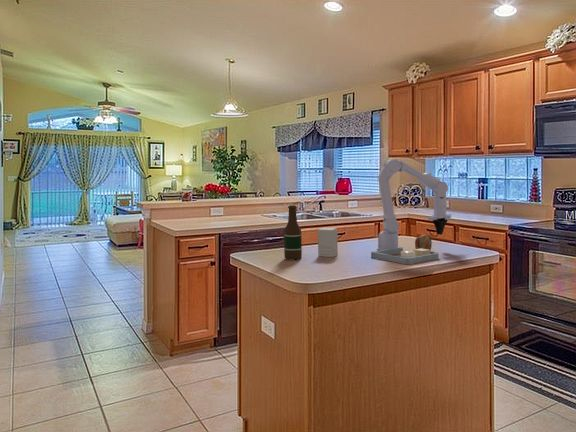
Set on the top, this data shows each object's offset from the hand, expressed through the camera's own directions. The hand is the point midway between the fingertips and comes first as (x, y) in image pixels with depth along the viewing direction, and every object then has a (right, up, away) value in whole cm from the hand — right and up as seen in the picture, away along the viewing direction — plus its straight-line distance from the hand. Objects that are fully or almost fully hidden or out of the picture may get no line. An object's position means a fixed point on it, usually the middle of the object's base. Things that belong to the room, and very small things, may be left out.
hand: (439, 234), depth 227 cm
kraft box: (-14, -10, -20) cm, 26 cm away
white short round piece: (-22, -11, -25) cm, 35 cm away
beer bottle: (-71, -11, -16) cm, 74 cm away
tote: (-22, -10, -19) cm, 30 cm away
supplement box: (-55, -10, -9) cm, 57 cm away
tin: (-10, -9, -6) cm, 15 cm away
